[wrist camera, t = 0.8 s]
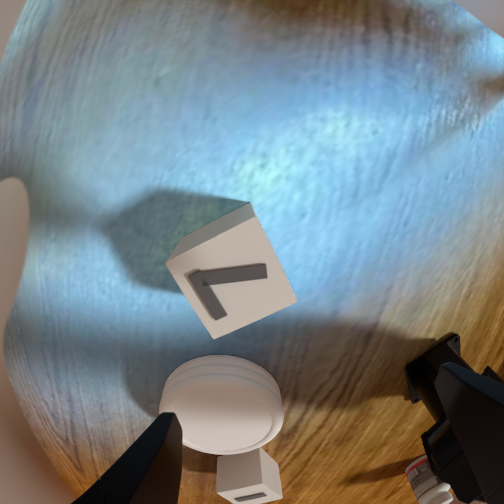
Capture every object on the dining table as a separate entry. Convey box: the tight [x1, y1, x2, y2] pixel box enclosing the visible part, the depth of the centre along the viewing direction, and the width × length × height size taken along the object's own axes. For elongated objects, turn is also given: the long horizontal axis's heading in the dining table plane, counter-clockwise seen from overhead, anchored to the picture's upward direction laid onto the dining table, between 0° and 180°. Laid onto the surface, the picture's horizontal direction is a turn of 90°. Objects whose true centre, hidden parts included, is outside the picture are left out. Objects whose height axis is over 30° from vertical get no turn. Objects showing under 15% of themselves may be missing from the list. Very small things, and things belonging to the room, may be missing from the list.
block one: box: [216, 447, 283, 504], centre depth 24 cm, size 5×5×5 cm
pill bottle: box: [405, 455, 453, 504], centre depth 26 cm, size 5×5×10 cm
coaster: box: [159, 355, 284, 455], centre depth 22 cm, size 10×10×4 cm
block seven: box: [165, 202, 298, 339], centre depth 17 cm, size 5×5×5 cm
